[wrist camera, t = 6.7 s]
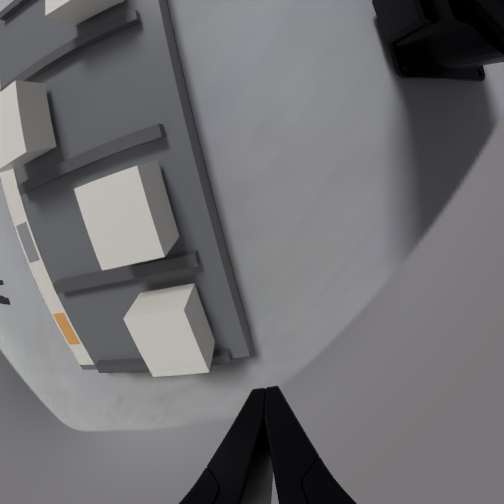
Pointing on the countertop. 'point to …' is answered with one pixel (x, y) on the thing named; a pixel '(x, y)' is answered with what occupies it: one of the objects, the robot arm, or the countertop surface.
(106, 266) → the white rectangular block
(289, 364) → the countertop surface
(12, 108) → the tab
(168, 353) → the off-white short block
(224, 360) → the switch bank
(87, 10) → the white rectangular block
